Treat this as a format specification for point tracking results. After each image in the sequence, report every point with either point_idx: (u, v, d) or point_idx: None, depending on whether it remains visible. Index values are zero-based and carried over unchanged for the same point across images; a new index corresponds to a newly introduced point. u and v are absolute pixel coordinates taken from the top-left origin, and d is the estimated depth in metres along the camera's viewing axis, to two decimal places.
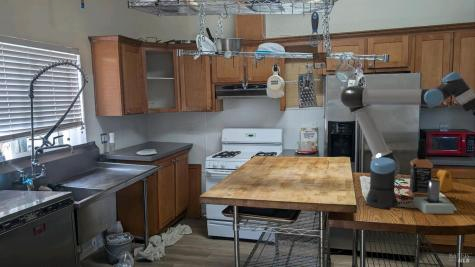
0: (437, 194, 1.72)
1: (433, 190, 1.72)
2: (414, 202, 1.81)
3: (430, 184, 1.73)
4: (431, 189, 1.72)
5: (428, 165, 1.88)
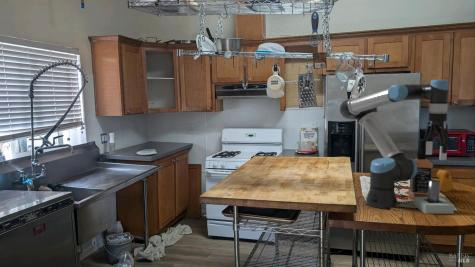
0: (437, 194, 1.72)
1: (433, 190, 1.72)
2: (414, 202, 1.81)
3: (430, 184, 1.73)
4: (431, 189, 1.72)
5: (428, 165, 1.88)
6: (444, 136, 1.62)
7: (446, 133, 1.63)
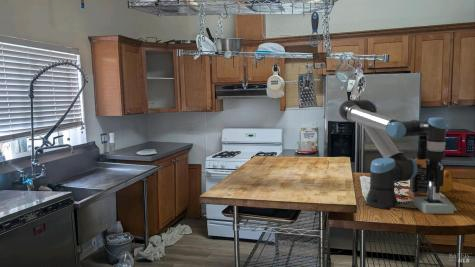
0: None
1: None
2: (414, 202, 1.81)
3: (430, 184, 1.73)
4: (431, 189, 1.72)
5: None
6: (439, 178, 1.67)
7: (441, 175, 1.67)
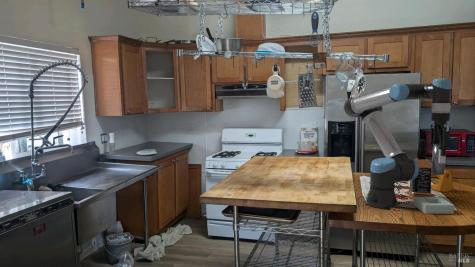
0: None
1: (438, 154, 1.67)
2: (414, 202, 1.81)
3: (435, 147, 1.67)
4: (436, 153, 1.67)
5: (428, 165, 1.88)
6: (445, 139, 1.62)
7: (447, 136, 1.62)
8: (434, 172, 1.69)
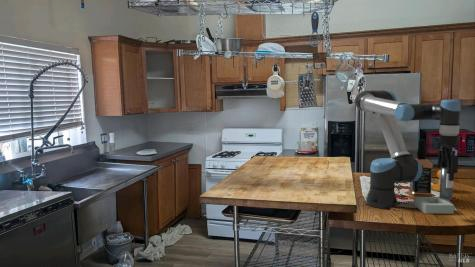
0: None
1: (446, 178, 1.60)
2: (414, 202, 1.81)
3: (443, 171, 1.60)
4: (444, 177, 1.60)
5: (428, 165, 1.88)
6: (453, 164, 1.55)
7: (456, 161, 1.55)
8: (441, 197, 1.62)
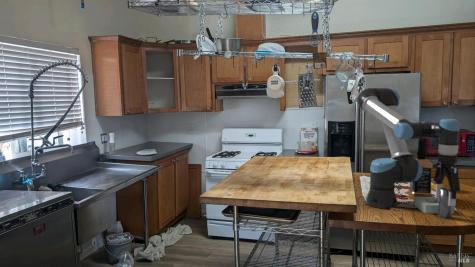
0: None
1: (445, 199, 1.61)
2: (414, 202, 1.81)
3: (442, 193, 1.62)
4: (442, 198, 1.62)
5: (428, 165, 1.88)
6: (454, 182, 1.54)
7: (456, 178, 1.54)
8: None
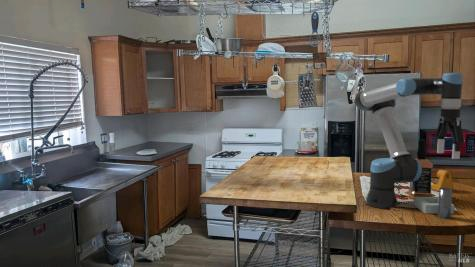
0: (449, 203, 1.61)
1: (444, 199, 1.61)
2: (414, 202, 1.81)
3: (441, 193, 1.62)
4: (442, 198, 1.62)
5: (428, 165, 1.88)
6: (457, 133, 1.52)
7: (459, 130, 1.52)
8: (440, 217, 1.63)
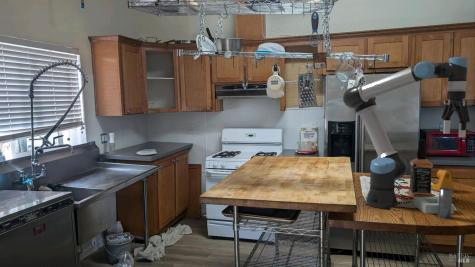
0: (449, 203, 1.61)
1: (445, 199, 1.61)
2: (414, 202, 1.81)
3: (442, 193, 1.62)
4: (442, 198, 1.62)
5: (428, 165, 1.88)
6: (463, 113, 1.62)
7: (465, 110, 1.63)
8: (440, 217, 1.63)
